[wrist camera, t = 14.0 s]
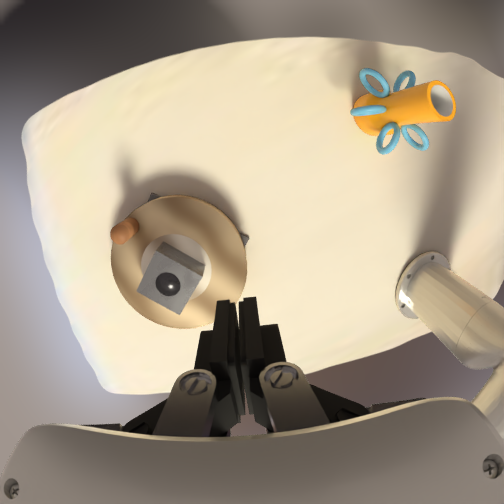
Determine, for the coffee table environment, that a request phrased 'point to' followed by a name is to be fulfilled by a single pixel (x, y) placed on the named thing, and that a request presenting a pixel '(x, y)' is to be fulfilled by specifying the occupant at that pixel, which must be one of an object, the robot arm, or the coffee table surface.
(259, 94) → the coffee table surface
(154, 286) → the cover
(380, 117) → the cylinder
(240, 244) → the turntable
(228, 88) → the coffee table surface
